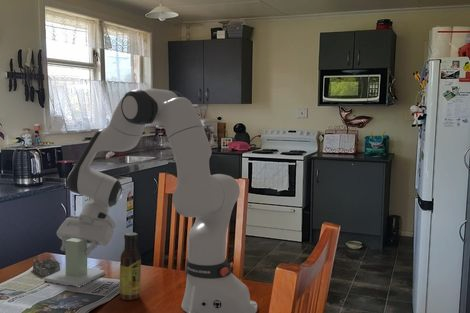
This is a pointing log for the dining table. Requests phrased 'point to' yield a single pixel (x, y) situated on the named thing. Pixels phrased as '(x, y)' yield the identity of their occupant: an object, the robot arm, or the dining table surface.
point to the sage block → (75, 257)
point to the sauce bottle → (130, 268)
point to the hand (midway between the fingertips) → (74, 252)
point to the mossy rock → (46, 266)
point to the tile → (75, 281)
